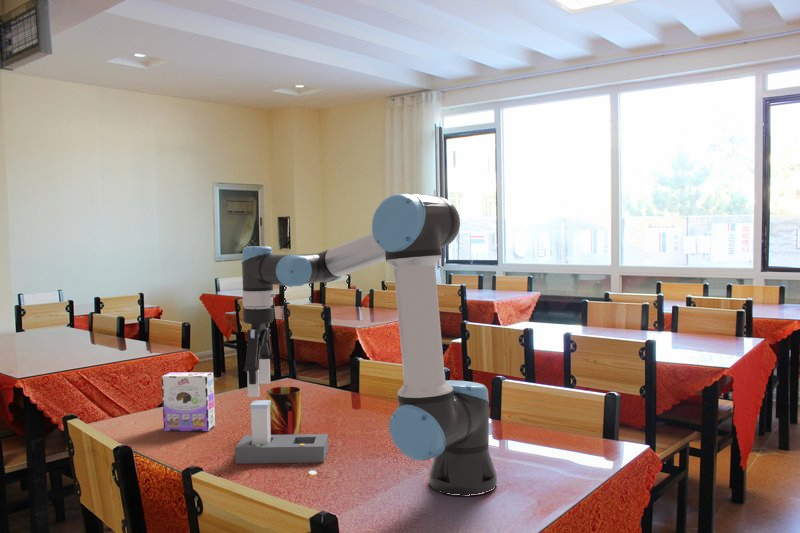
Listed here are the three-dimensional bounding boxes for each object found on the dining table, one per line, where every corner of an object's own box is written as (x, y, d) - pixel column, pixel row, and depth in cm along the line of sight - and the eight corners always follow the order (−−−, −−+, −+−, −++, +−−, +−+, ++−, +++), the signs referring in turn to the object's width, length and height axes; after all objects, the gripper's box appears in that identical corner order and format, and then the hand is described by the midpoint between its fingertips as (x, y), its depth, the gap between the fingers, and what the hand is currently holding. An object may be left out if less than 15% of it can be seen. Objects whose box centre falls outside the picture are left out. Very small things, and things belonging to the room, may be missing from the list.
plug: (268, 459, 161) (267, 404, 160) (251, 459, 161) (249, 404, 160) (272, 453, 165) (270, 400, 165) (255, 453, 165) (253, 400, 165)
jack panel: (324, 462, 158) (323, 445, 158) (235, 463, 158) (235, 446, 158) (328, 448, 168) (327, 432, 168) (244, 450, 168) (244, 434, 168)
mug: (290, 441, 175) (289, 398, 174) (260, 431, 184) (259, 390, 184) (317, 433, 182) (316, 392, 181) (287, 424, 191) (286, 384, 191)
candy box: (216, 426, 190) (214, 371, 190) (208, 432, 184) (206, 375, 184) (171, 425, 192) (170, 371, 191) (162, 431, 186) (160, 375, 185)
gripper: (262, 313, 149) (264, 402, 150) (281, 301, 174) (282, 378, 175) (230, 313, 149) (232, 402, 150) (254, 301, 174) (255, 378, 175)
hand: (259, 389), depth 163 cm, fingers open, 13 cm apart
